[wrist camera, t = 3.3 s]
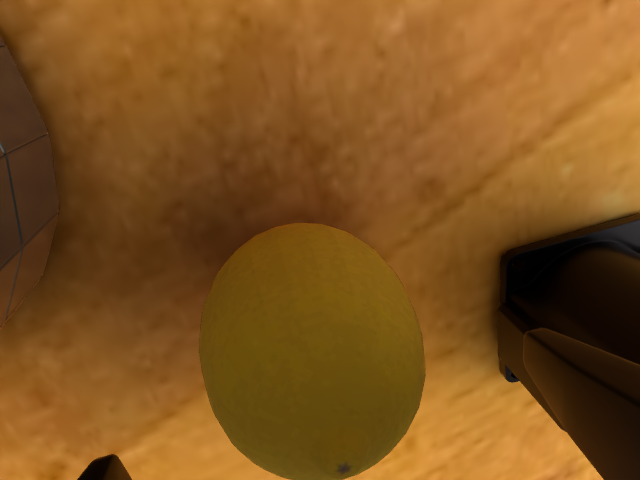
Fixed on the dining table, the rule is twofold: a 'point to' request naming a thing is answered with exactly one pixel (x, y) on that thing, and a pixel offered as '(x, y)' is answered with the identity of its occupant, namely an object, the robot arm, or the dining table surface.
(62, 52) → the dining table surface
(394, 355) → the lemon
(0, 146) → the grey pet bowl
